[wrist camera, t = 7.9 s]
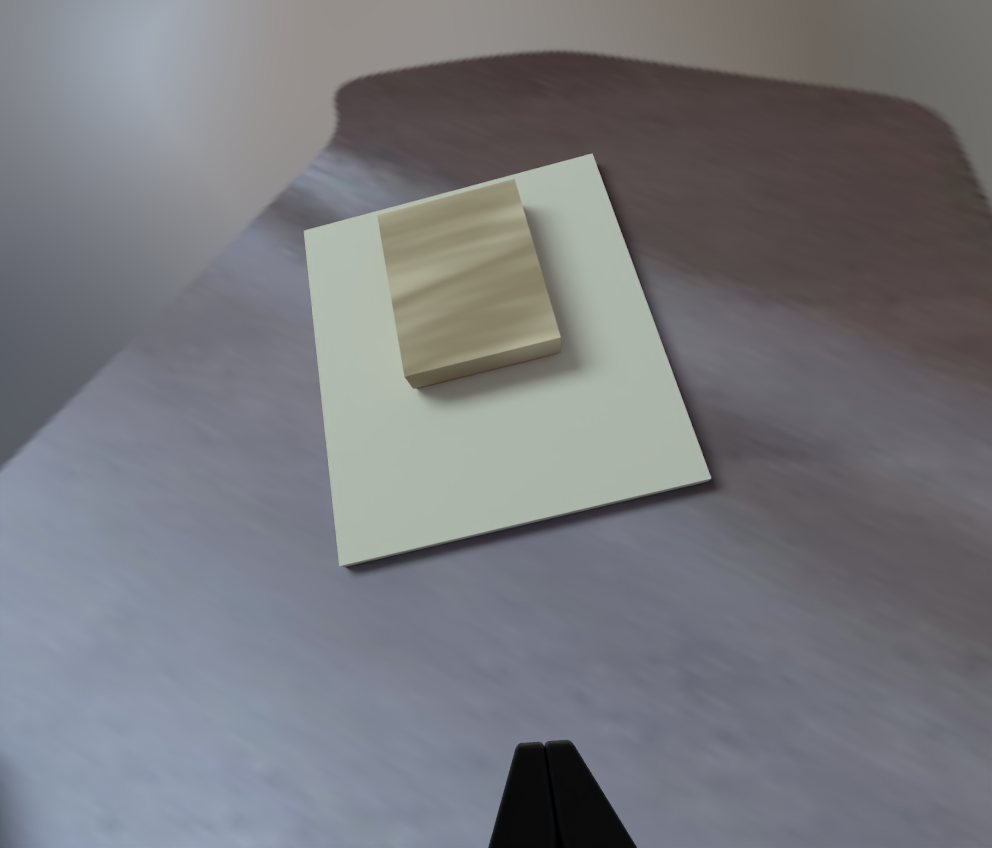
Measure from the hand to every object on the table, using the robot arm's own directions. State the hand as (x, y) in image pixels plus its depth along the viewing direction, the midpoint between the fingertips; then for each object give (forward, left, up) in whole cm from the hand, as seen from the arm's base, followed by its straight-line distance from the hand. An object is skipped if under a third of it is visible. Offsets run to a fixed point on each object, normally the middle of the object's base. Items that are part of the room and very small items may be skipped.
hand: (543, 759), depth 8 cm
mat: (+12, +8, -13) cm, 20 cm away
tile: (+10, +7, -12) cm, 17 cm away
